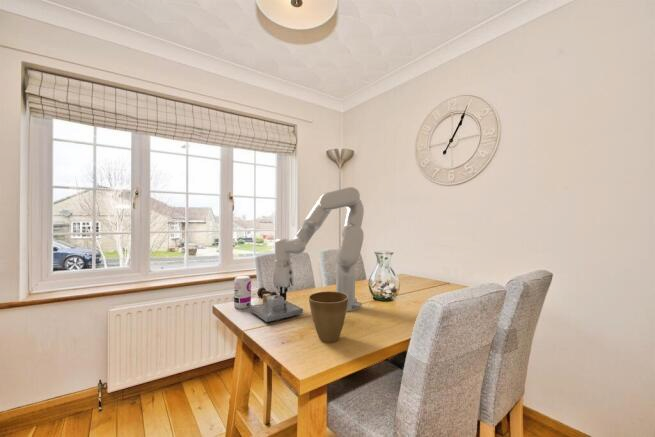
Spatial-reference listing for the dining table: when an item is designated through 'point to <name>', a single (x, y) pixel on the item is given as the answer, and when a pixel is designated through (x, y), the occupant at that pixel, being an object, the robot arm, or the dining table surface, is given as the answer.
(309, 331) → the dining table surface
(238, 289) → the supplement can
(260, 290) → the bolt
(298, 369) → the dining table surface
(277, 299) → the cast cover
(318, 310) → the plant pot
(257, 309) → the grey mounting base
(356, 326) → the dining table surface
